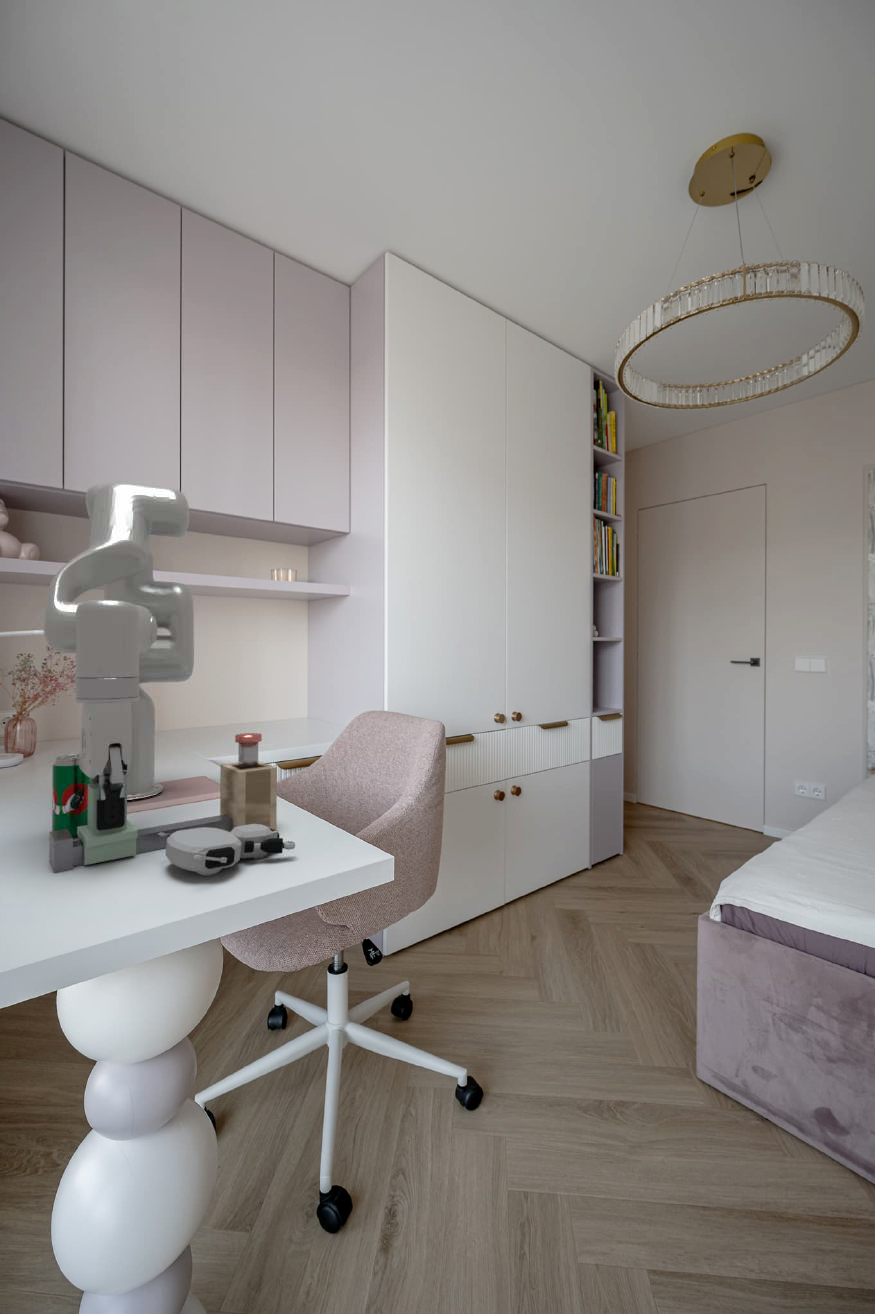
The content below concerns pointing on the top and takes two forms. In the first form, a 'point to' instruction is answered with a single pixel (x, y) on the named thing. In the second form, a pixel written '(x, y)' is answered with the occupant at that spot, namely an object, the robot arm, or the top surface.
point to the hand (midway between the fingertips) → (107, 822)
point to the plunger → (248, 750)
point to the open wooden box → (249, 794)
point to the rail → (72, 852)
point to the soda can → (69, 794)
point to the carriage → (105, 834)
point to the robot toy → (221, 847)
